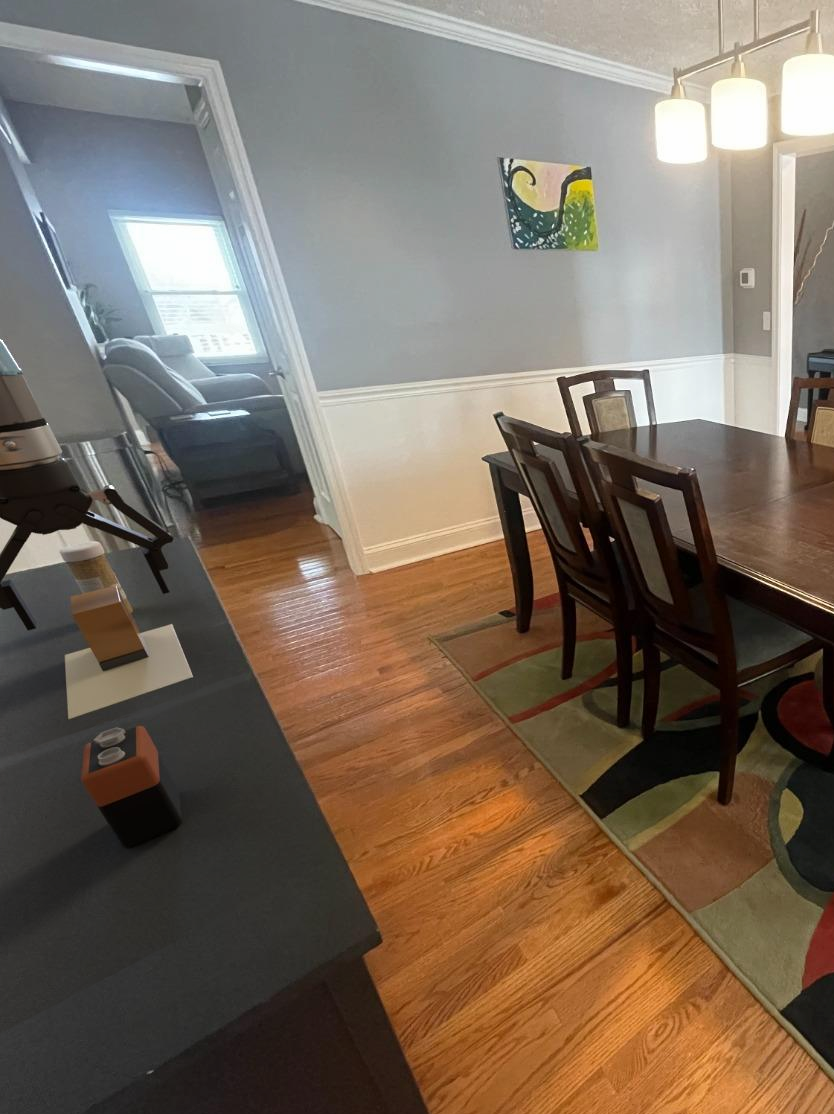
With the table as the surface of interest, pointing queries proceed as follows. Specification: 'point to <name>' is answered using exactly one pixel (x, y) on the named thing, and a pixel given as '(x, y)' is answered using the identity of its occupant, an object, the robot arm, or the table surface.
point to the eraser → (108, 627)
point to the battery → (131, 785)
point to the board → (124, 673)
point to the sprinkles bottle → (91, 567)
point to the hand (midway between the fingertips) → (102, 607)
